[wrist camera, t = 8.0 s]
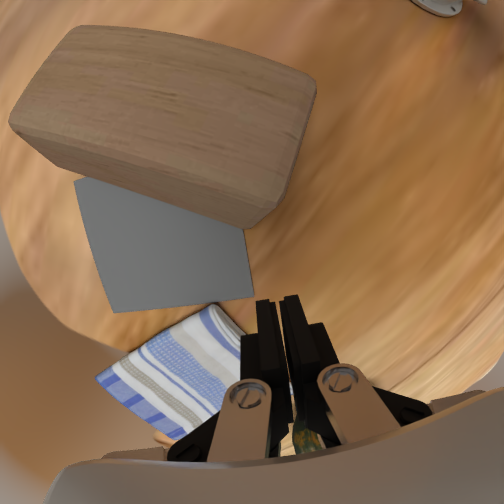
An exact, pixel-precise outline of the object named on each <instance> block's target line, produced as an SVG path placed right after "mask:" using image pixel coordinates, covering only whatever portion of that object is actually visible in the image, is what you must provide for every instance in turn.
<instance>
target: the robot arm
mask: <svg viewBox="0 0 504 504" xmlns="http://www.w3.org/2000/svg"><path fill="white" fill-rule="evenodd" d="M412 1H413V2H414V3H416V4H417V5H419V6H420V7H422V8H423V9H425V10H427V11H429V12H431V13H433V14H436V15H439V16H443V17H450V16H454V15H456V14H458V13H459V12H460V11H461V9H462V6H463V3H462V0H412ZM474 1H476V2H478V3H480V4H482V5H485V4H486V3H487V0H474ZM279 304H280V312H281V319H282V327H283V335H284V343H285V351H286V356H285V351H284V346H283V340H282V335H281V330H280V325H279V320H278V315H277V309H276V304H275V302H269V299H266V300H260V301H256V313H257V326H258V333H255V334H248V335H241V337H240V381H238V382H236V383H234V384H232V385H231V386H230V387H229V388H228V389H227V391H226V393H225V395H224V399H223V402H222V406H221V410H219V411H218V412H217V413H216V414H214V415H213V416H212V417H210V418H209V419H208V420H206V421H205V422H204V423H202V424H201V425H200V426H198V427H197V428H196V429H194V430H193V431H191V432H190V433H189V434H187V435H186V436H184V437H183V438H182V439H180V440H179V441H177V442H176V443H175V444H174V445H172V446H171V448H168V449H164V448H163V447H155V448H148V449H138V450H129V451H116V452H111V453H108V454H106V455H104V456H103V457H102V458H101V459H93V460H88V461H81V462H78V463H74V464H71V465H69V466H67V467H65V468H64V469H63V470H62V471H60V472H59V474H58V475H57V476H56V478H55V479H54V481H53V483H52V485H51V486H50V488H49V490H48V492H47V495H46V497H45V499H44V502H43V504H504V387H500V388H497V389H493V390H490V391H487V392H486V391H482V390H474V391H470V392H466V393H462V394H458V395H454V396H449V397H445V398H440V399H435V400H431V402H430V403H429V404H425V403H423V402H421V401H419V400H415V399H412V398H409V397H405V396H402V395H399V394H395V393H392V392H389V391H386V390H383V389H380V388H377V387H374V386H371V384H370V383H369V381H368V380H367V379H366V377H365V376H364V375H363V373H362V372H361V371H360V370H359V369H358V368H357V367H355V366H353V365H350V364H345V363H344V364H340V363H339V360H338V358H337V355H336V353H335V351H334V348H333V346H332V343H331V341H330V339H329V336H328V334H327V331H326V329H325V327H324V324H323V323H322V322H321V323H316V324H310V325H308V323H307V320H306V317H305V314H304V311H303V308H302V305H301V303H300V300H299V297H298V295H291V296H285V297H284V300H283V301H279ZM286 358H287V361H286ZM287 364H288V368H287ZM288 369H289V374H290V379H291V385H292V390H293V395H294V401H295V406H296V411H297V417H298V422H301V421H304V423H305V428H308V429H309V430H311V431H313V432H315V433H317V436H318V440H319V442H320V444H321V446H322V449H323V450H318V451H313V452H307V453H302V454H296V455H289V456H282V457H280V451H281V442H280V441H281V440H282V439H283V438H284V437H285V436H286V435H287V434H288V433H289V427H288V423H294V420H293V411H292V401H291V392H290V384H289V375H288Z"/></svg>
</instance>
